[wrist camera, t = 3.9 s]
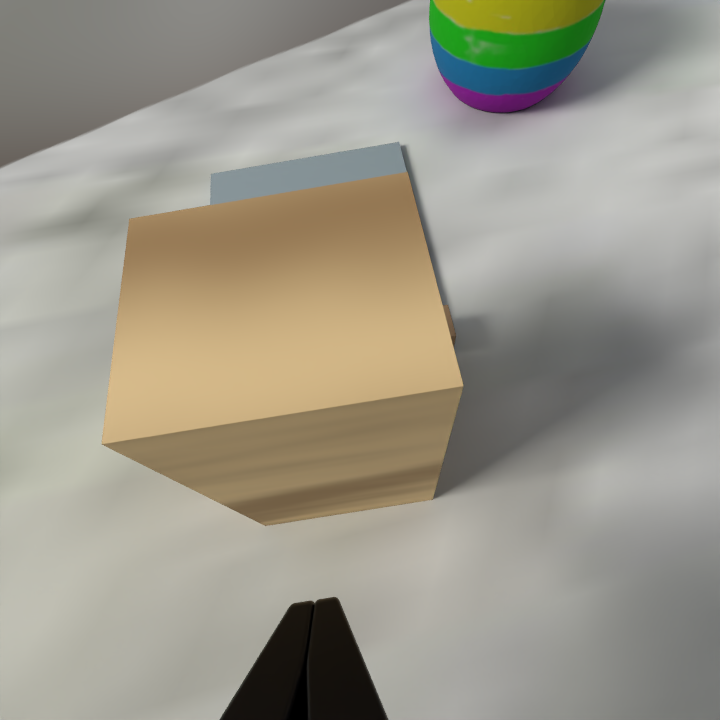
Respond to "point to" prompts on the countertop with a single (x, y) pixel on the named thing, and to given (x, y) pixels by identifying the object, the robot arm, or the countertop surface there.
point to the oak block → (286, 352)
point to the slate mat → (311, 178)
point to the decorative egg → (509, 47)
